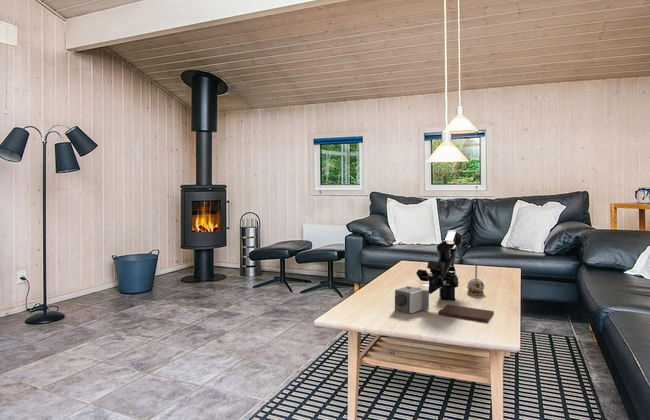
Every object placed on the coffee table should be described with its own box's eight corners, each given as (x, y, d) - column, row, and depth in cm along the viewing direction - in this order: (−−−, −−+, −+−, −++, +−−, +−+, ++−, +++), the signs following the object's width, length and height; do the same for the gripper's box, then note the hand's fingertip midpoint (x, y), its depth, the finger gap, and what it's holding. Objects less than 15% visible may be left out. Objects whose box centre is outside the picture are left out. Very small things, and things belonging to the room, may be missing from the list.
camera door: (421, 308, 189) (422, 289, 188) (428, 310, 186) (429, 290, 186) (409, 312, 182) (409, 293, 182) (416, 314, 180) (416, 294, 179)
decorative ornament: (474, 296, 212) (475, 266, 211) (464, 292, 219) (464, 263, 218) (487, 295, 215) (488, 265, 214) (476, 291, 222) (477, 262, 221)
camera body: (407, 305, 194) (408, 284, 194) (421, 309, 189) (421, 287, 189) (392, 310, 186) (393, 289, 186) (406, 314, 181) (406, 291, 181)
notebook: (447, 307, 194) (447, 303, 194) (493, 314, 184) (493, 310, 184) (437, 316, 181) (438, 311, 181) (487, 324, 171) (487, 319, 171)
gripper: (418, 251, 198) (404, 278, 191) (456, 256, 185) (442, 286, 177) (427, 266, 204) (414, 293, 197) (464, 272, 191) (451, 301, 183)
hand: (429, 293), depth 188 cm, fingers closed
